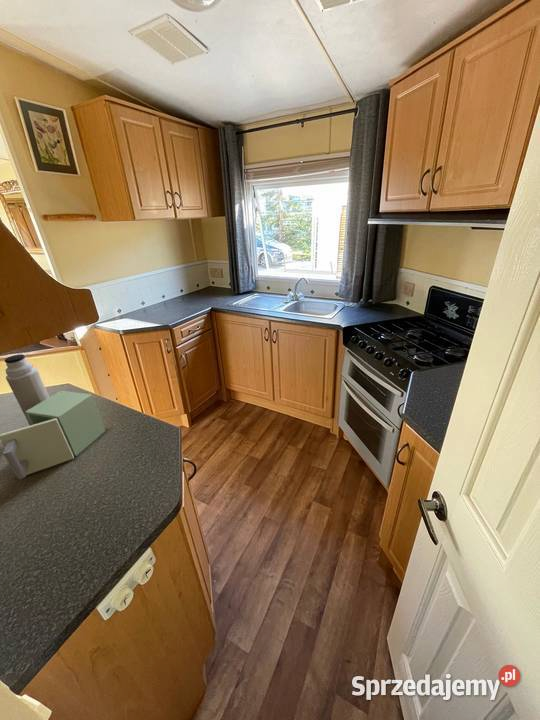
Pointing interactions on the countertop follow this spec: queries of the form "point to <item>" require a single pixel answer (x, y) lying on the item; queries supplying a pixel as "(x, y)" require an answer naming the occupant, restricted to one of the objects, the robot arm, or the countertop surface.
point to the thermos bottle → (25, 383)
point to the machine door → (35, 447)
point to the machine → (70, 417)
